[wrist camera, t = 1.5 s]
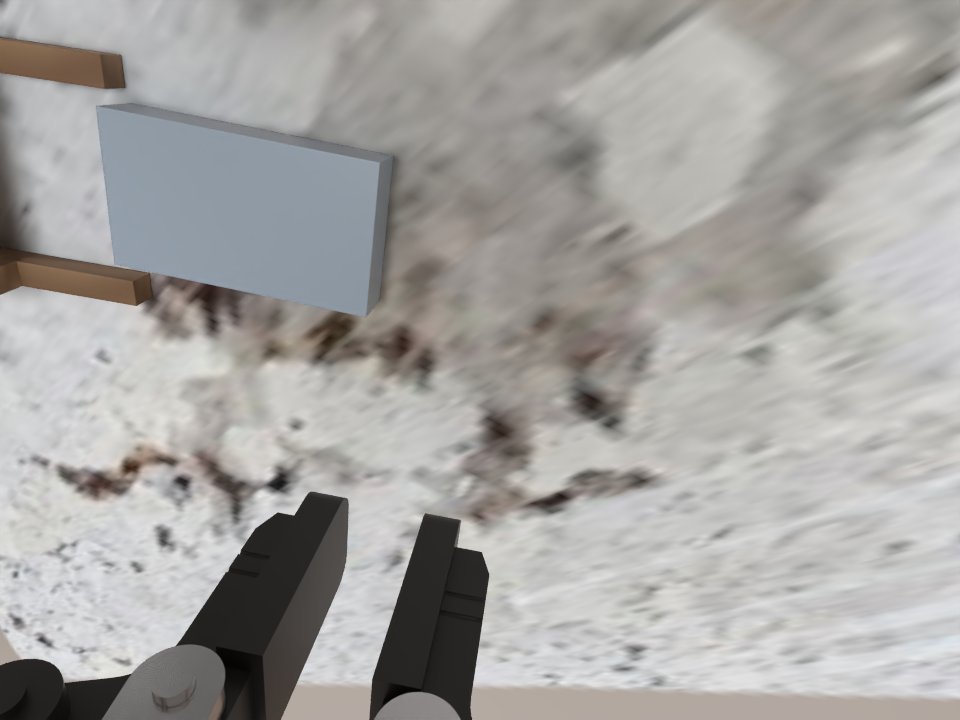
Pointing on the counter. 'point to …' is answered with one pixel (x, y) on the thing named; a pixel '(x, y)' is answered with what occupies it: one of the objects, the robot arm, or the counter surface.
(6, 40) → the wooden frame
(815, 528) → the counter surface
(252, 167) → the panel
